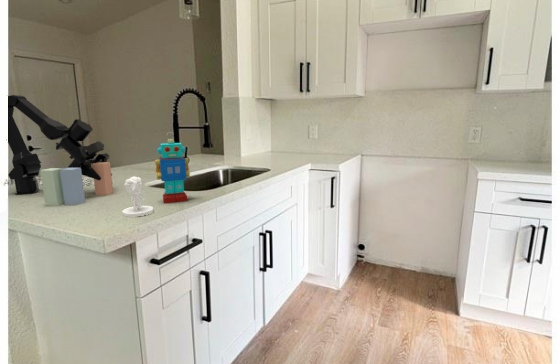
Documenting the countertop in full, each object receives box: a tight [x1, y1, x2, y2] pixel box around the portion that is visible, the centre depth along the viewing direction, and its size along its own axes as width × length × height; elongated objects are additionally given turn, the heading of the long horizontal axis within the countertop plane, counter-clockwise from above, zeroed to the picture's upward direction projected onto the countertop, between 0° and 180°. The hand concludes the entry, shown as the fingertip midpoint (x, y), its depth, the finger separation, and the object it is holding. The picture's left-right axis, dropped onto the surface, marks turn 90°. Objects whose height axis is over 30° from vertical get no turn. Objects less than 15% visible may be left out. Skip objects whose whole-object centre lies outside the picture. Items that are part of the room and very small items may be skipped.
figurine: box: [122, 176, 154, 218], centre depth 104 cm, size 9×9×12 cm
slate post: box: [60, 167, 86, 206], centre depth 115 cm, size 4×4×12 cm
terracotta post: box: [91, 161, 114, 196], centre depth 128 cm, size 4×4×12 cm
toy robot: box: [154, 131, 191, 204], centre depth 117 cm, size 12×6×25 cm, turn 114°
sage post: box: [39, 167, 65, 207], centre depth 114 cm, size 4×4×12 cm
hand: (106, 177), depth 128 cm, fingers open, 7 cm apart
